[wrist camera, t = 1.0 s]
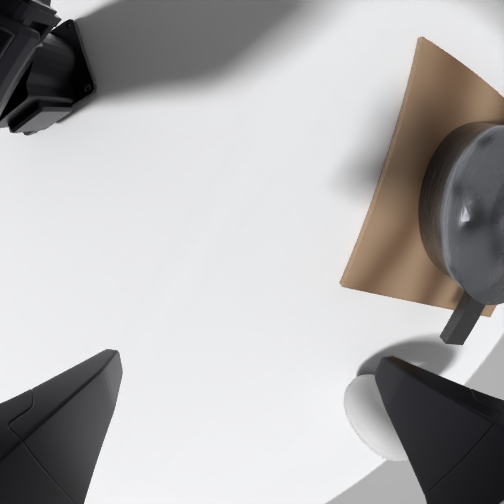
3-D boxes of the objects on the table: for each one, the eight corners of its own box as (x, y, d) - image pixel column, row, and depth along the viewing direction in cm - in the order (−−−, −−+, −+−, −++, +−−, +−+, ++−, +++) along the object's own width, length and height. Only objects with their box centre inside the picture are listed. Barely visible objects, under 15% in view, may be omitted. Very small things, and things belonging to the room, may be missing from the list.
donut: (406, 382, 29) (445, 450, 20) (384, 402, 30) (416, 471, 21) (349, 352, 26) (390, 439, 17) (324, 376, 27) (354, 464, 18)
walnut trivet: (339, 283, 23) (342, 286, 23) (418, 38, 16) (422, 36, 16) (487, 314, 27) (490, 317, 26) (548, 147, 20) (552, 148, 19)
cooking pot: (371, 304, 24) (398, 344, 19) (455, 47, 16) (500, 39, 11) (470, 322, 26) (498, 351, 21) (541, 125, 18) (579, 133, 13)
